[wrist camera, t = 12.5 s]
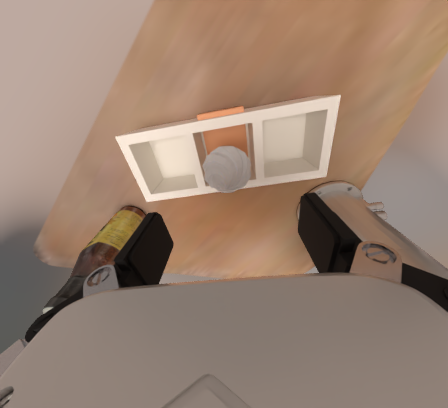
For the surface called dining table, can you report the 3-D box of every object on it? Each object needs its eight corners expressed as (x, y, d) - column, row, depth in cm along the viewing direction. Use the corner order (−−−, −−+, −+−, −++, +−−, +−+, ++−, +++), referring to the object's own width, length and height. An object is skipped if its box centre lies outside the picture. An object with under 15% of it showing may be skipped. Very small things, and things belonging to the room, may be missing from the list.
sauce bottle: (118, 202, 35) (18, 296, 18) (148, 208, 36) (78, 303, 19) (121, 225, 39) (39, 322, 22) (148, 230, 39) (89, 328, 22)
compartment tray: (313, 91, 24) (342, 88, 18) (306, 161, 30) (326, 176, 24) (137, 124, 27) (112, 132, 21) (161, 183, 32) (146, 201, 27)
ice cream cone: (222, 122, 25) (217, 145, 13) (251, 143, 27) (271, 182, 14) (204, 152, 28) (185, 196, 15) (231, 170, 30) (234, 223, 17)
